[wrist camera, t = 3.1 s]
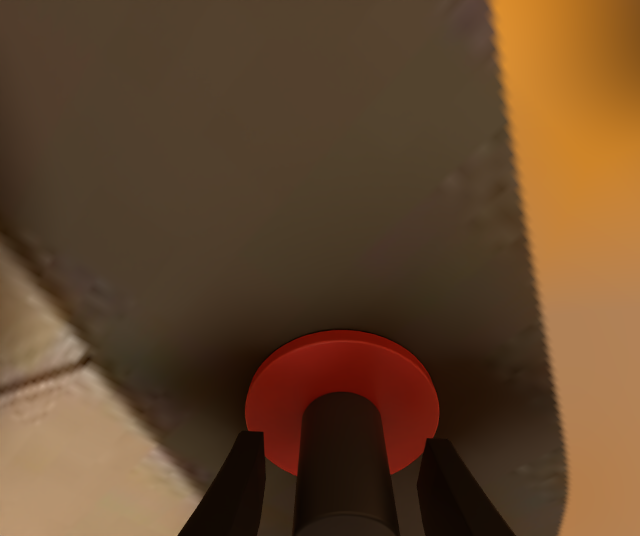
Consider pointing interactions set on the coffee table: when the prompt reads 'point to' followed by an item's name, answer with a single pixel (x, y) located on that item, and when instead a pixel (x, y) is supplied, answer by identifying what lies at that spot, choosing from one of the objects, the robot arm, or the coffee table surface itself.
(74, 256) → the coffee table surface
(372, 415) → the lid
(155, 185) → the coffee table surface
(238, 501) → the robot arm
